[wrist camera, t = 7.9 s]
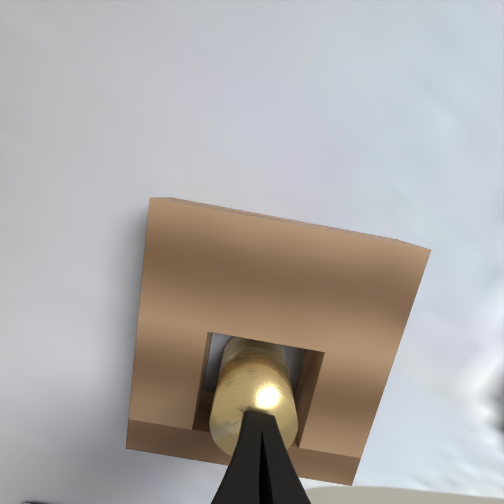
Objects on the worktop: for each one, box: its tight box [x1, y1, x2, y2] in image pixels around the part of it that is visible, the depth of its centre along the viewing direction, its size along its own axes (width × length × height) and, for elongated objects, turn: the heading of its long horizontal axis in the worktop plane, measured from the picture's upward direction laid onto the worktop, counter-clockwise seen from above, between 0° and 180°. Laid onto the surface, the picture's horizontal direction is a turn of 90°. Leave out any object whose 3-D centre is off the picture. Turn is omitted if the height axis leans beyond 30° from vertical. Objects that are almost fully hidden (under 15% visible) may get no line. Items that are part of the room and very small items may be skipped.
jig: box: [126, 198, 431, 486], centre depth 15 cm, size 14×13×3 cm
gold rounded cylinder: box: [210, 336, 298, 456], centre depth 14 cm, size 4×4×5 cm
